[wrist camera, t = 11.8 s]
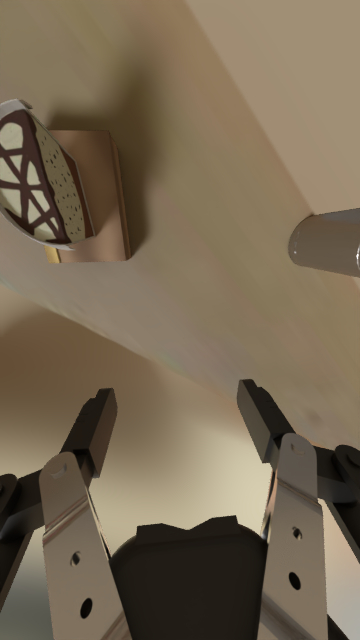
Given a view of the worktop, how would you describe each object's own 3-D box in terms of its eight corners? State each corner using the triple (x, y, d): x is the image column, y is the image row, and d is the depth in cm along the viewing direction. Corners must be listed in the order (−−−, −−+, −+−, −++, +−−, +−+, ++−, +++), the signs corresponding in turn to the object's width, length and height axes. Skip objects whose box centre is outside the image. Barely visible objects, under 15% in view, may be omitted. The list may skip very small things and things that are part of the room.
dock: (117, 148, 28) (107, 129, 23) (131, 257, 35) (125, 260, 30) (36, 148, 27) (8, 128, 23) (65, 259, 34) (49, 263, 29)
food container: (24, 150, 24) (-64, 94, 15) (72, 146, 24) (14, 88, 15) (59, 251, 29) (9, 257, 20) (98, 247, 29) (67, 251, 20)
